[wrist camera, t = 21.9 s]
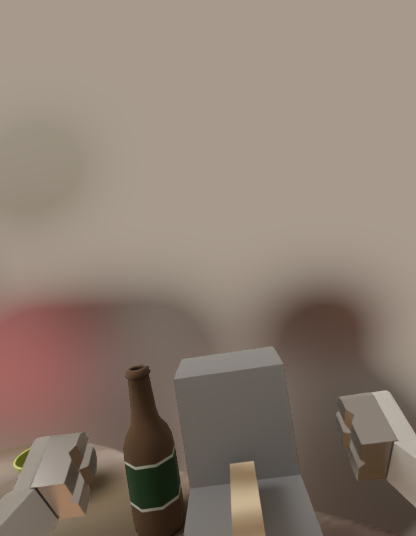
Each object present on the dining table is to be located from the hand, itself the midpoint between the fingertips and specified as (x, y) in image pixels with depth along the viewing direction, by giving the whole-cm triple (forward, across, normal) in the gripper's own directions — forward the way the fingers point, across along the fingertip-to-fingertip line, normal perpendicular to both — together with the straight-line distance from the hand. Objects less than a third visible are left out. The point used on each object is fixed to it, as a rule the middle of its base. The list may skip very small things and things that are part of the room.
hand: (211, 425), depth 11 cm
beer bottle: (+19, +14, +49) cm, 54 cm away
